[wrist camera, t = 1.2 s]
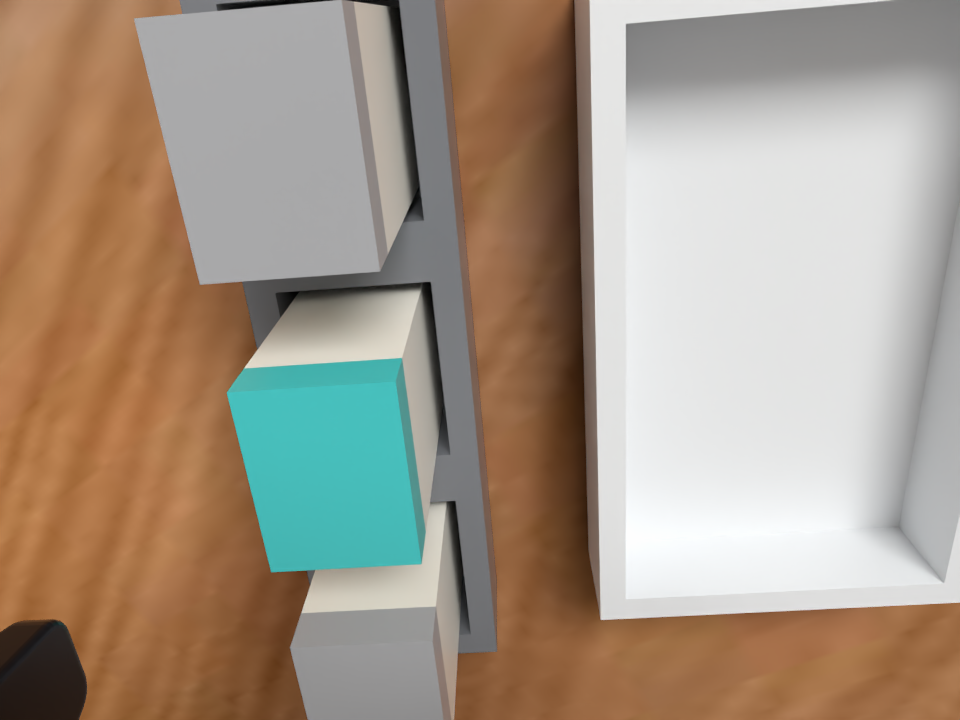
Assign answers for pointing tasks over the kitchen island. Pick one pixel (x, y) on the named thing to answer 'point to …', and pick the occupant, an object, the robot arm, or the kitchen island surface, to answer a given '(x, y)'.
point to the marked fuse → (343, 427)
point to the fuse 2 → (385, 634)
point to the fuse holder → (443, 262)
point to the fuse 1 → (285, 135)
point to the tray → (770, 303)
